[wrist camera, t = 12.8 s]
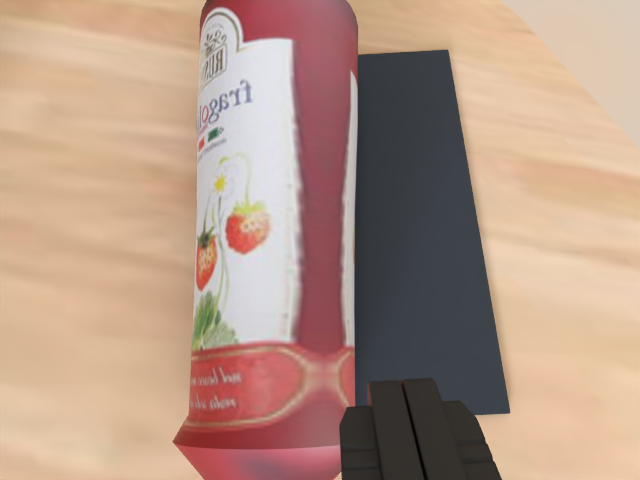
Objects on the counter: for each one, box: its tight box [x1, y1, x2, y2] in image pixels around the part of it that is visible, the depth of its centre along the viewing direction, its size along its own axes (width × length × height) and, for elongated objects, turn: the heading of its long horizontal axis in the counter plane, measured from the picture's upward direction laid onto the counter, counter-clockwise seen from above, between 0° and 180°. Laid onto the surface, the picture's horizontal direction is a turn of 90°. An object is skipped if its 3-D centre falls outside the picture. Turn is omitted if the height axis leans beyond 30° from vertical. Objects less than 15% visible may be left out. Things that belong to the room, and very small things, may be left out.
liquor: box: [173, 0, 358, 480], centre depth 21 cm, size 7×7×28 cm
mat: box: [354, 50, 510, 415], centre depth 23 cm, size 19×12×1 cm, turn 3°
